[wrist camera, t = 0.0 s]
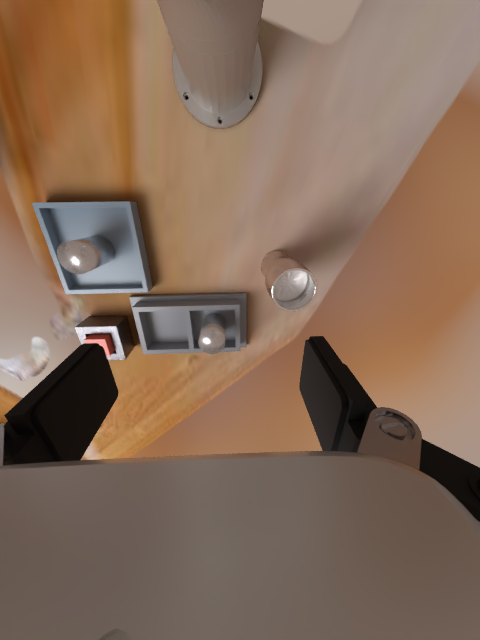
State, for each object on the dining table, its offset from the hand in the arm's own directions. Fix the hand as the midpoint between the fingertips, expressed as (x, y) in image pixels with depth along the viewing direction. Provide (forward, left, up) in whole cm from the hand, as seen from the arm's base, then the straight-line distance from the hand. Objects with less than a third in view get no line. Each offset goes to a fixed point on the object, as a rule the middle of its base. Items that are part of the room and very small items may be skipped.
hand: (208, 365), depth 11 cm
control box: (+18, -26, -37) cm, 49 cm away
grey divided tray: (+16, -8, -37) cm, 41 cm away
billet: (0, -23, -36) cm, 43 cm away
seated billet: (+16, -3, -36) cm, 39 cm away
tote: (0, -23, -37) cm, 43 cm away
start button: (+18, -26, -33) cm, 46 cm away
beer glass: (+4, +10, -37) cm, 39 cm away
